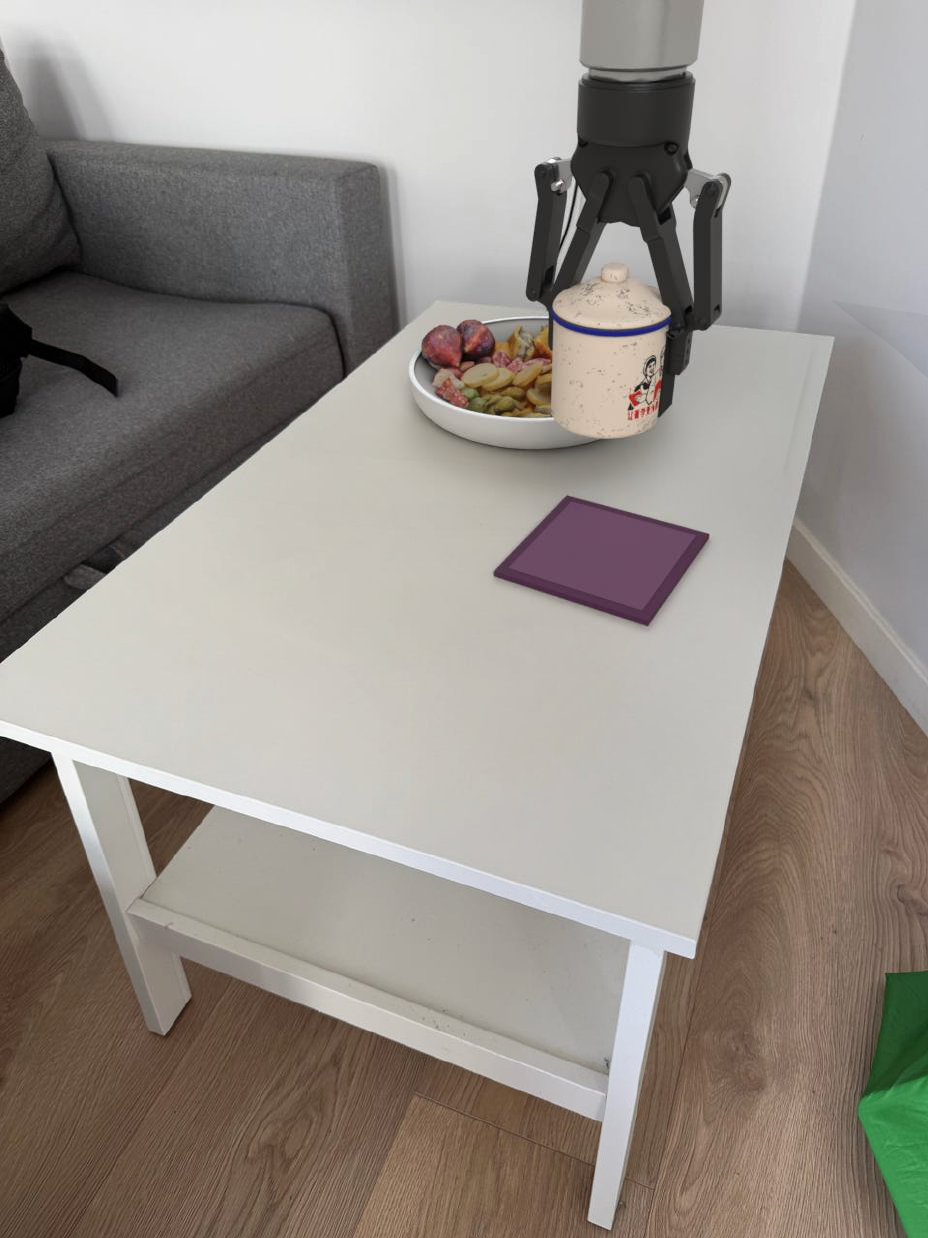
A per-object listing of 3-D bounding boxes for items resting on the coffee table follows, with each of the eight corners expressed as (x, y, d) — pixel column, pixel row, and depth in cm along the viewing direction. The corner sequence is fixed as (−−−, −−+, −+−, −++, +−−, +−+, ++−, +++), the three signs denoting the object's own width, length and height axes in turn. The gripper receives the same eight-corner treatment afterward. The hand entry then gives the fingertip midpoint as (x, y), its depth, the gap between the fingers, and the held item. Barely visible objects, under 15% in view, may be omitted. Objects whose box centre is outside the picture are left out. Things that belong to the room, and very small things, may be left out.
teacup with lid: (648, 450, 68) (664, 293, 61) (532, 432, 71) (534, 280, 64) (681, 384, 77) (699, 240, 69) (576, 370, 80) (583, 230, 72)
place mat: (709, 538, 87) (709, 533, 86) (648, 626, 77) (648, 620, 77) (566, 499, 93) (567, 494, 93) (493, 576, 83) (493, 570, 83)
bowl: (681, 367, 117) (689, 306, 112) (627, 480, 96) (633, 411, 91) (464, 341, 126) (461, 284, 121) (369, 440, 105) (362, 375, 100)
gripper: (812, 68, 57) (752, 406, 71) (525, 54, 66) (523, 359, 80) (777, 88, 52) (721, 447, 67) (472, 71, 61) (480, 392, 75)
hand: (613, 399), depth 73 cm, fingers closed on teacup with lid, 7 cm apart
